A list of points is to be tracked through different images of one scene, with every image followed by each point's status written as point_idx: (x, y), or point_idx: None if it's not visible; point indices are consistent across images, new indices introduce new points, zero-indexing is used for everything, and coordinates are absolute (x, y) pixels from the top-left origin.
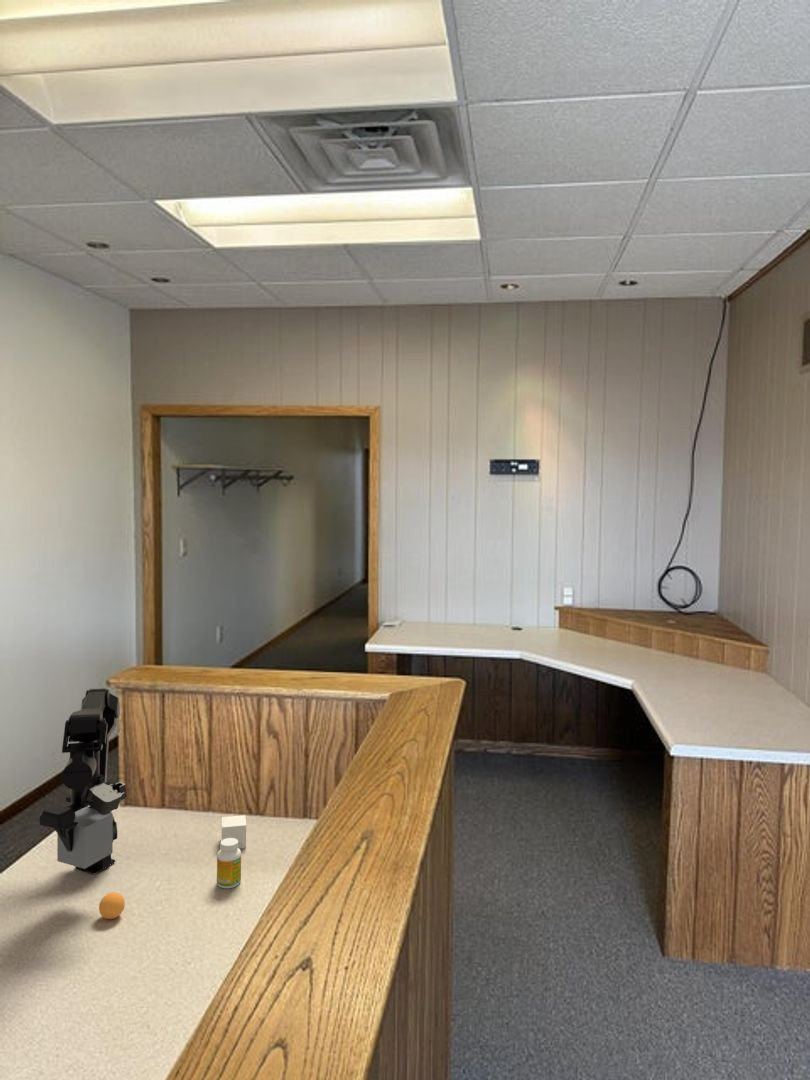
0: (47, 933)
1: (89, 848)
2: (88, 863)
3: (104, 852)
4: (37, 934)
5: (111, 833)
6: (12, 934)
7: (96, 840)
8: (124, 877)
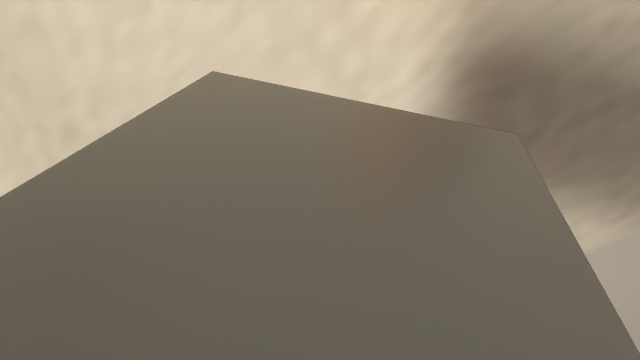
0: (616, 115)
1: (486, 216)
2: (475, 137)
3: (284, 104)
4: (622, 148)
5: (104, 151)
6: (615, 228)
7: (361, 223)
8: (165, 66)
